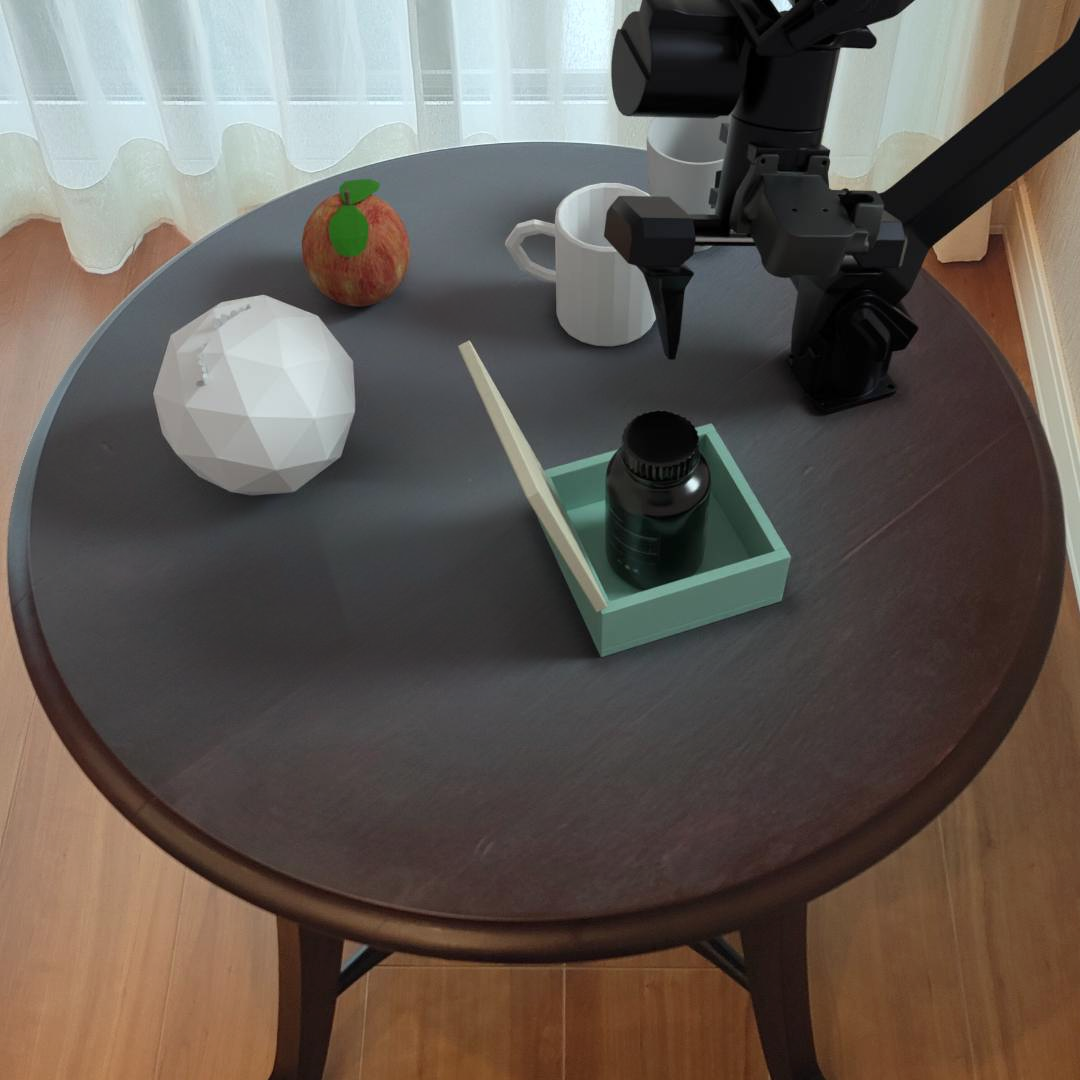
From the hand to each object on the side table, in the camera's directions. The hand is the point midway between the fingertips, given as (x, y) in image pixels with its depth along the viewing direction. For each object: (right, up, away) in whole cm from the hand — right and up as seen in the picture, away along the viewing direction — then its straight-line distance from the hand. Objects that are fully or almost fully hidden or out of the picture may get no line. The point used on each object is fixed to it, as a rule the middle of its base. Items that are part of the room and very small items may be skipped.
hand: (733, 356), depth 88 cm
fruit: (-28, +8, +21) cm, 36 cm away
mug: (-10, +6, +19) cm, 22 cm away
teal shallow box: (-5, -13, +3) cm, 15 cm away
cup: (0, +14, +25) cm, 28 cm away
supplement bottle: (-5, -13, +3) cm, 15 cm away
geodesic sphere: (-33, -6, +10) cm, 35 cm away
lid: (-13, -8, -8) cm, 17 cm away
